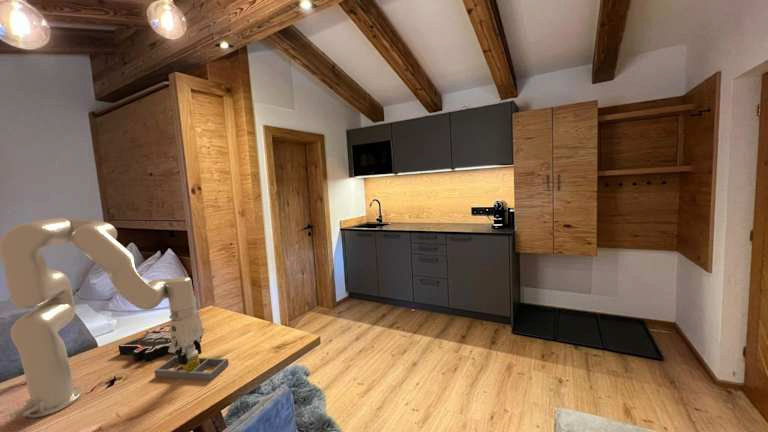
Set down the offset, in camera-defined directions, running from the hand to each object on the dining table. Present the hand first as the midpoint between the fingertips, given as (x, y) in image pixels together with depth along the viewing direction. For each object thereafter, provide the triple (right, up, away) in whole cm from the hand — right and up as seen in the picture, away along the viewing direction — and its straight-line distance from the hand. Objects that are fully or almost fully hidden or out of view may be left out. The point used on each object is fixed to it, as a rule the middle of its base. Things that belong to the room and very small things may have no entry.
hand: (190, 358), depth 113 cm
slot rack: (0, -5, +1) cm, 5 cm away
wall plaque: (-24, -4, +24) cm, 34 cm away
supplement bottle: (0, -5, 0) cm, 5 cm away
